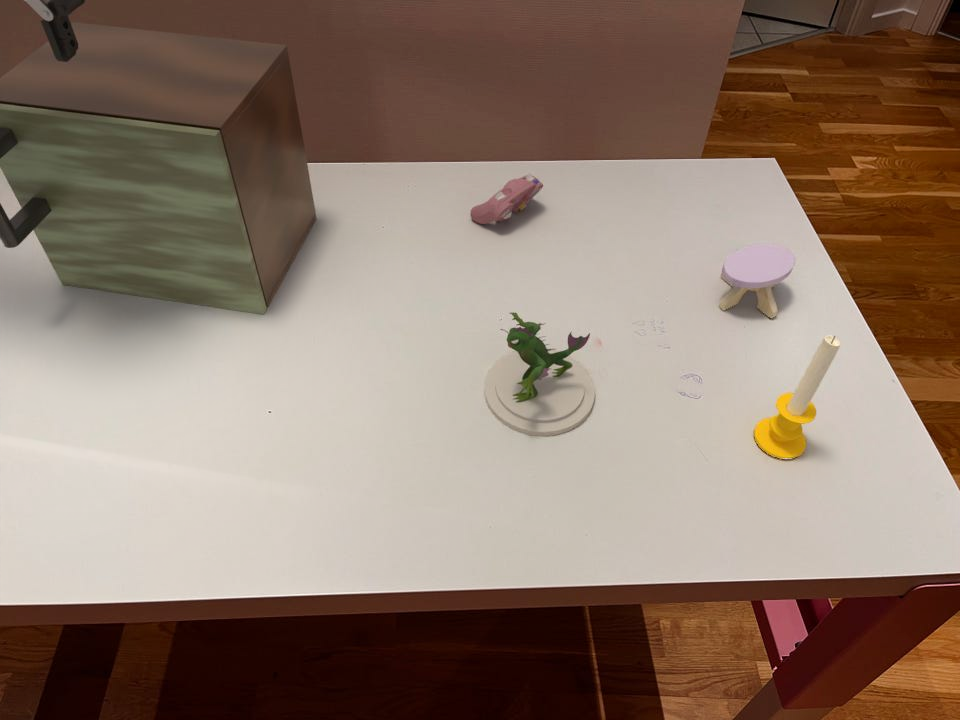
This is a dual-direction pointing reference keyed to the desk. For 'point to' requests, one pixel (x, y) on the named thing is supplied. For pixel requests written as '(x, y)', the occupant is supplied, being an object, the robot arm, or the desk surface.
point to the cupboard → (194, 116)
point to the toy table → (756, 274)
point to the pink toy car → (507, 200)
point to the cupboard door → (129, 206)
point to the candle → (796, 408)
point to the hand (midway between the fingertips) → (23, 52)
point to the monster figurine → (539, 384)
